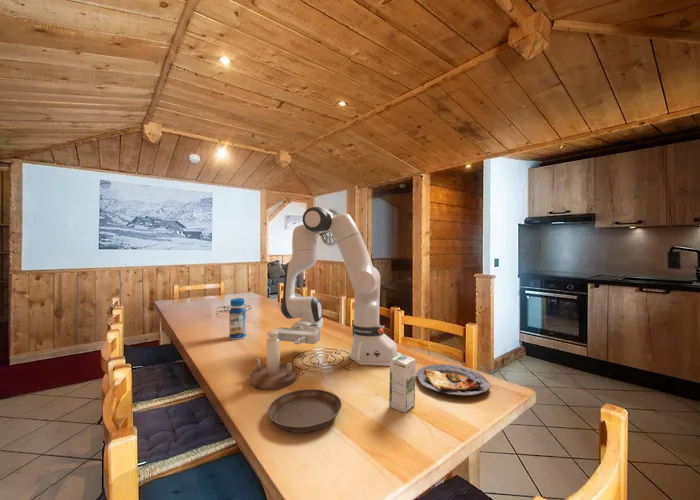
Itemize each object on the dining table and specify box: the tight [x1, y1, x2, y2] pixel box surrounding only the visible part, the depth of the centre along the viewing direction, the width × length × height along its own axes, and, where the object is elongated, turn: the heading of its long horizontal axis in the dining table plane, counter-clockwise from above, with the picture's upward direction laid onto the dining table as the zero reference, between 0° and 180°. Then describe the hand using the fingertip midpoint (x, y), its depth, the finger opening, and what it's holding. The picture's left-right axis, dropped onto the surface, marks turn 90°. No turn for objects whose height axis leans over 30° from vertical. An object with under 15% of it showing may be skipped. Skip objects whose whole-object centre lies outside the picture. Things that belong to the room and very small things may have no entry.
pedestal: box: [249, 358, 297, 391], centre depth 112 cm, size 16×16×6 cm
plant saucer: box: [267, 388, 343, 434], centre depth 89 cm, size 21×21×3 cm
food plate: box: [415, 363, 491, 397], centre depth 109 cm, size 25×23×4 cm
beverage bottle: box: [228, 297, 247, 341], centre depth 162 cm, size 8×8×20 cm
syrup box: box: [388, 354, 417, 414], centre depth 94 cm, size 6×6×14 cm
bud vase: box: [265, 330, 281, 375], centre depth 112 cm, size 5×5×15 cm
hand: (285, 341), depth 120 cm, fingers open, 8 cm apart
